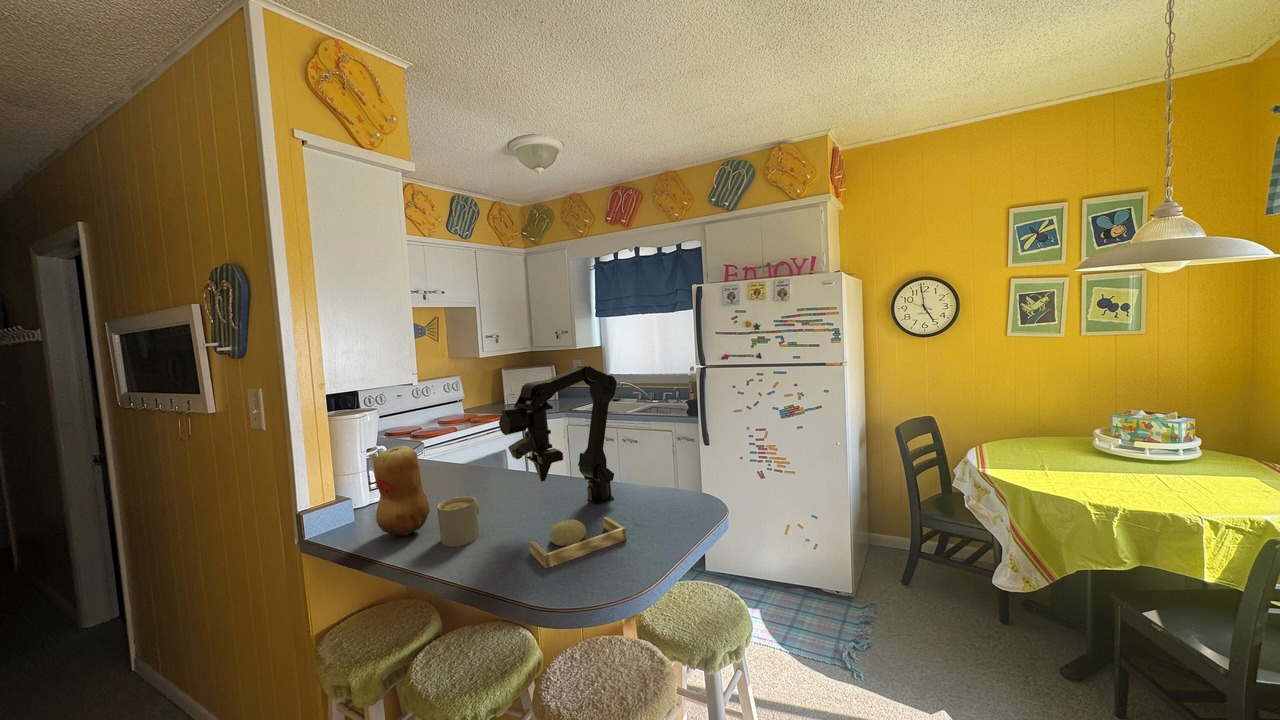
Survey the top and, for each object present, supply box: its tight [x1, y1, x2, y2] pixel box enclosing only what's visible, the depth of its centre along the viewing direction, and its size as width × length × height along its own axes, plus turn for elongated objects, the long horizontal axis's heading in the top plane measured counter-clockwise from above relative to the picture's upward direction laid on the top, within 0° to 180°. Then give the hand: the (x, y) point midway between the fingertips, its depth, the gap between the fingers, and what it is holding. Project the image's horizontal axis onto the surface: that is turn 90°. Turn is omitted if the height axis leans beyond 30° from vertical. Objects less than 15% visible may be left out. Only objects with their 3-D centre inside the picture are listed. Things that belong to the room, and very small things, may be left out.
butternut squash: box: [373, 445, 430, 537], centre depth 143 cm, size 14×13×25 cm
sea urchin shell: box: [549, 519, 587, 547], centre depth 132 cm, size 9×8×8 cm
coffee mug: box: [436, 495, 481, 548], centre depth 139 cm, size 13×10×10 cm
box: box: [529, 516, 627, 569], centre depth 127 cm, size 22×10×3 cm, turn 123°
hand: (542, 480), depth 144 cm, fingers closed
